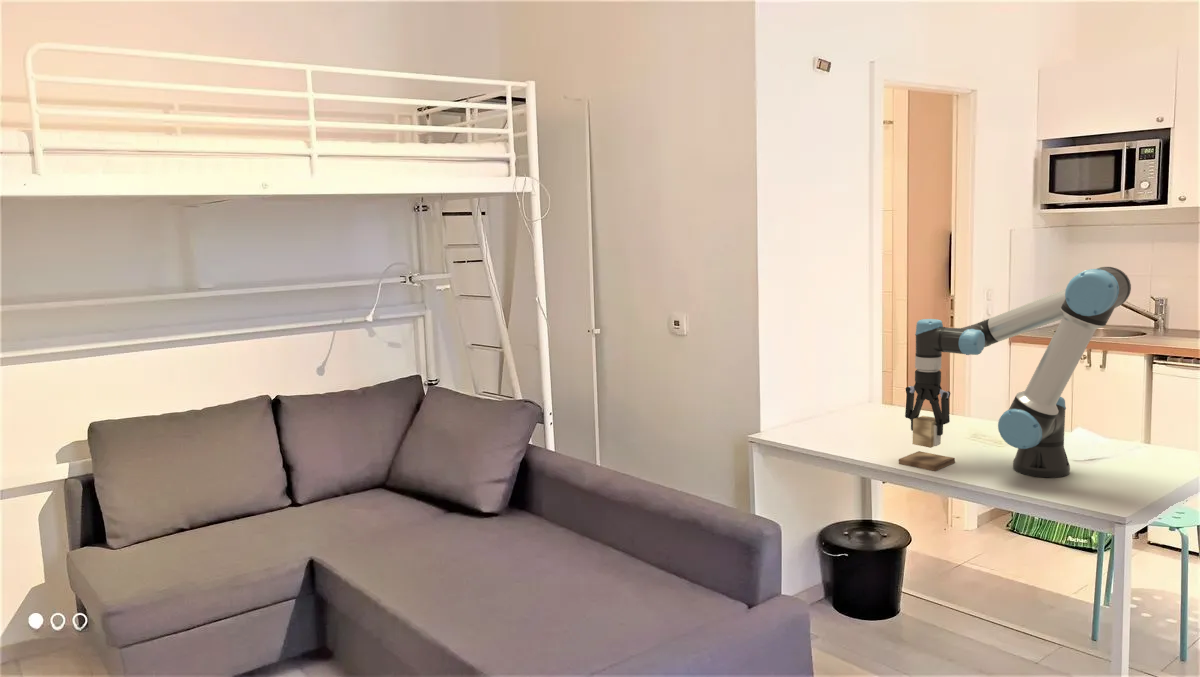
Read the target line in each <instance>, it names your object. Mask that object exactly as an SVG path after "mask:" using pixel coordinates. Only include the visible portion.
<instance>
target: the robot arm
mask: <svg viewBox="0 0 1200 677" xmlns="http://www.w3.org/2000/svg"><path fill="white" fill-rule="evenodd" d="M1131 292H1132V284H1131V280H1130V278H1129V277H1128V275H1127V274H1126V273H1125V272H1124V271H1123V270H1121V269H1119V268H1116V267H1114V266H1101V267H1097V268H1090V269H1086V270H1083V271H1081V272H1079V273H1077V275H1075V276H1074V277H1072V278H1071V279H1070V280H1069V282H1068V283H1067V284H1066V288H1065V289H1063V290H1060V291H1057V292H1055V293H1053V294H1049V295H1047V296H1045V297H1042V298H1039V299H1037V300H1034V301H1032V302H1029V303H1027V304H1024V305H1021V306H1019V307H1016V308H1014V309H1013V308H1012V309H1011V310H1008V311H1005V312H1003V313H999V314H998V315H995V316H993V317H989V318H987V319H985V320H982V321H980V322H979V321H978V322H976V323H974V324H971V325H967V326H964V327H946V326H944V325H943V321H942V320H940V319H937V318H936V319H935V318H922V319H919V320H917V322H916V325H915V326H916V328H915V334H914V335H915V356H914V358H915V360H914V361H915V362H914V366H915V367H914V368H915V369H916V370H915V372H914V382H915V384H914V385H910V386H907V387H905V393H906V400H905V410H904V411H905V414H904V417H905V419H909V420H910V430H911V431H912V432H913V419H915V418H918V417H920V414H921V410H922V407H923V404H924V403H925V402H924V401H925V400H926V401H929V404H930V406H931V408H932V413H933V417H934V418H935V421H936V424H935V425H934V440H933V446H934V447H938V446H940V445H941V444H940V435H941V436H943V434H944V425H947V424H949V423H950V422H951V421H950V419H951V418H950V397H951V391H947V390H944V389H942V386H941V383H942V371H941V369H942V354H943V353H950V354H958V355H959V354H960V355H965V356H969V355H970V356H971V355H972V356H973V355H976V356H978V355H981V353H982V352H983V351H984V349H985V348H986V347H990V346H991V345H994V344H997V343H999V342H1001V341H1004V340H1007V339H1010V338H1013V337H1015V336H1018V335H1021V334H1024V333H1027V332H1030V331H1032V330H1033V331H1034V330H1035V329H1038V328H1041V327H1043V326H1047V325H1049V324H1052V323H1055V322H1058V321H1060V322H1059V323H1058V326H1057V328H1056V330H1055V331H1054V334H1053V336H1052V337H1051V339H1050V342H1049V344H1048V345H1047V347H1046V349H1045V351H1044V353H1043V354H1042V357H1041V359H1040V360H1039V362H1038V365H1037V367H1036V369H1035V370H1034V372H1033V374H1032V376H1031V378H1030V381H1029V382H1028V384H1027V385H1026V386H1027V387H1026V388H1025V390H1024V391H1020V392H1017V393H1016V395H1015V396H1014V399H1013V400H1012V402H1011V404H1010V406H1009V409H1007V410H1005V411H1004V412H1003V413H1002V414H1001V415H1000V417H999V419H998V421H997V422H998V423H997V429H998V432H999V435H1000V437H1001V438H1002V440H1003V441H1004V442H1005V443H1007V445H1010V446H1011V447H1013V448H1016V449H1017V451H1016V454H1015V457H1014V458H1013V461H1012V469H1013V470H1014V471H1015V472H1017V473H1019V474H1023V475H1026V476H1029V477H1038V478H1062V477H1066V476H1068V475H1070V473H1071V472H1070V469H1071V466H1070V462H1069V459H1068V455H1067V452H1066V450H1065V428H1066V426H1065V425H1066V409H1067V407H1066V400H1065V398H1064V397H1063V396H1062V394H1063V391H1064V390H1065V388H1066V387H1067V384H1068V382H1069V381H1070V379H1071V377H1072V375H1073V374H1074V372H1075V370H1076V367H1077V366H1078V364H1079V363H1080V361H1081V359H1082V357H1083V355H1084V352H1086V349H1087V346H1088V345H1089V343H1090V342H1091V340H1092V338H1093V336H1094V334H1095V332H1096V331H1097V329H1100V328H1104V327H1106V325H1107V323H1108V322H1109V320H1110V318H1111V316H1112V314H1113V312H1114V311H1115V309H1116V308H1118V307H1120V306H1122V305H1123V304H1124V303H1125V302H1127V300H1128V299H1129V297H1130V294H1131ZM915 393H916V394H917V395H916V398H915ZM939 395H940V399H939ZM939 401H940V403H939ZM914 403H915V404H914ZM940 404H941V405H940Z"/></svg>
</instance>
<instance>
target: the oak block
mask: <svg viewBox="0 0 1200 677" xmlns="http://www.w3.org/2000/svg"><path fill="white" fill-rule="evenodd" d="M935 424H936V421H935V417H934V416H928V415H921V416H919V417H918V418H915V419H913V431H912V445H914V446H920V447H925V448H931V449H932V448H934V447H935V446H933V440H934V425H935ZM941 438H942V435H940V445H941V442H942V441H941Z"/></svg>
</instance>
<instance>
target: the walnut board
mask: <svg viewBox="0 0 1200 677" xmlns="http://www.w3.org/2000/svg"><path fill="white" fill-rule="evenodd" d="M955 463H956V458H955V457H951V456H946V455H940V454H935V453H931V452H930V453H929V452H926V451H925V452H924V451H919V450H918V451H916V452H913V453H910V454H907V455H906V456H903V457H901V458H898V464H899V465H903V466H908V467H913V468H917V469H923V470H927V471H932V472H936V471H939V470H941V469H943V468H946V467H948V466H950V465H954V464H955Z"/></svg>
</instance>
